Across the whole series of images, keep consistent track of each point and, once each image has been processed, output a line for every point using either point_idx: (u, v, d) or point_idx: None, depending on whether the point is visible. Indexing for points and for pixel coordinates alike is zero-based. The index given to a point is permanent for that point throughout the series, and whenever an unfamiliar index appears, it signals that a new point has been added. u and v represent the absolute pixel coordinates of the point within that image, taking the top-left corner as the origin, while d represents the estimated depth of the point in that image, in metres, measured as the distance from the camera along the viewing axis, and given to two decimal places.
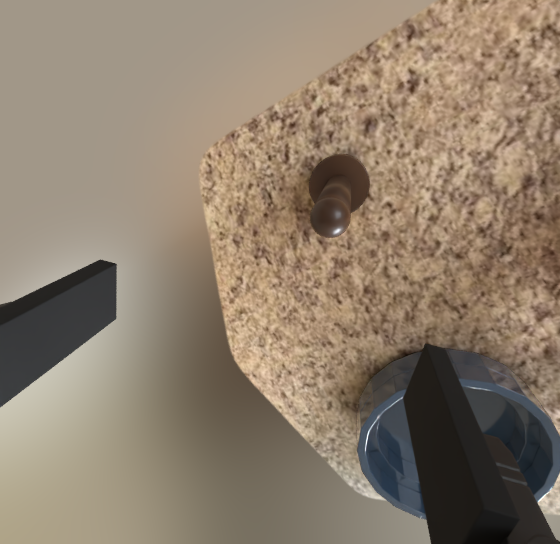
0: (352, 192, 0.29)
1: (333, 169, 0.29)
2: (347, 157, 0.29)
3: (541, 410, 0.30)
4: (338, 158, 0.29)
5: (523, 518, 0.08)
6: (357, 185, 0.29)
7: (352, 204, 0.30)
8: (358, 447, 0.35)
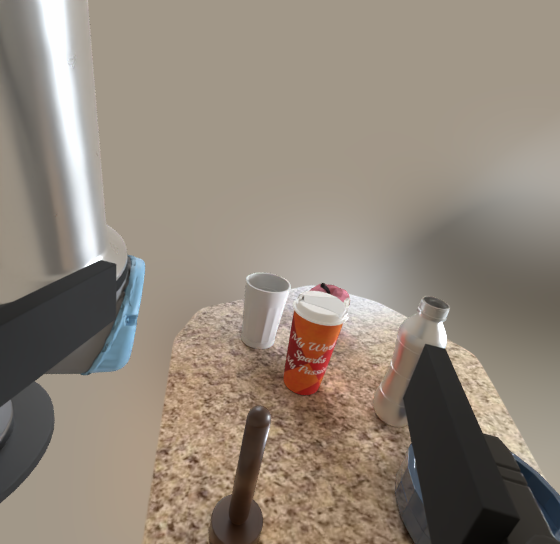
0: None
1: (222, 517, 0.34)
2: (218, 503, 0.35)
3: None
4: (216, 510, 0.34)
5: (523, 518, 0.08)
6: None
7: (256, 513, 0.35)
8: None
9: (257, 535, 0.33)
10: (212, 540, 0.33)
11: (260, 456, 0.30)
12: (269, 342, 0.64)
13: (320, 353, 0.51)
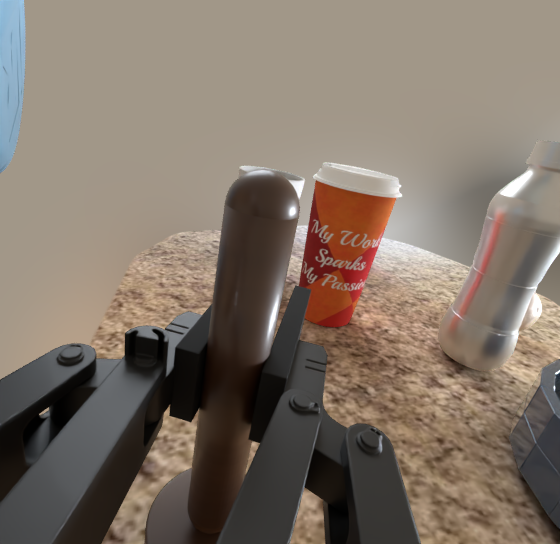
0: None
1: (175, 516, 0.14)
2: (169, 483, 0.15)
3: (553, 362, 0.26)
4: (161, 499, 0.15)
5: (305, 387, 0.11)
6: None
7: None
8: None
9: None
10: None
11: (266, 334, 0.10)
12: None
13: (359, 251, 0.32)
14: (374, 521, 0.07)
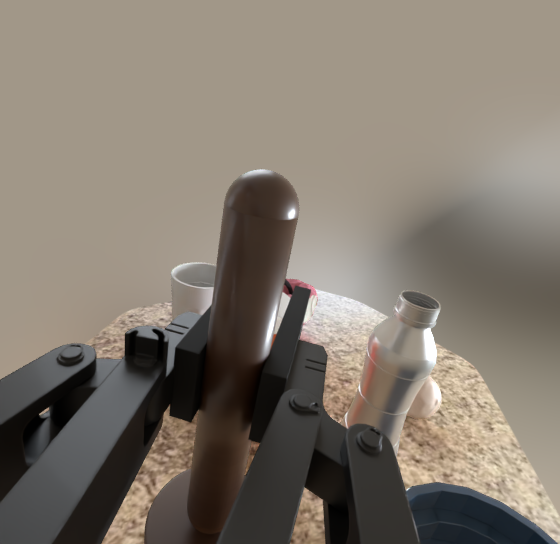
0: None
1: (174, 517, 0.14)
2: (169, 484, 0.15)
3: None
4: (160, 499, 0.15)
5: (305, 387, 0.11)
6: None
7: None
8: None
9: None
10: None
11: (265, 334, 0.10)
12: None
13: None
14: (374, 521, 0.07)
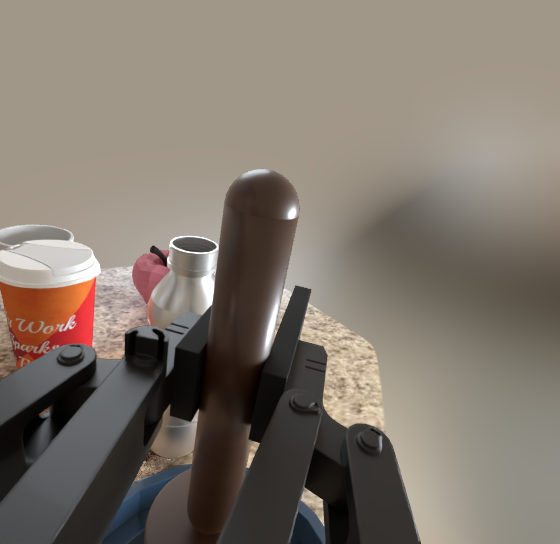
0: None
1: (174, 517, 0.14)
2: (169, 484, 0.15)
3: (162, 471, 0.25)
4: (161, 500, 0.15)
5: (305, 387, 0.11)
6: None
7: None
8: None
9: None
10: None
11: (266, 334, 0.10)
12: None
13: (41, 336, 0.31)
14: (374, 521, 0.07)
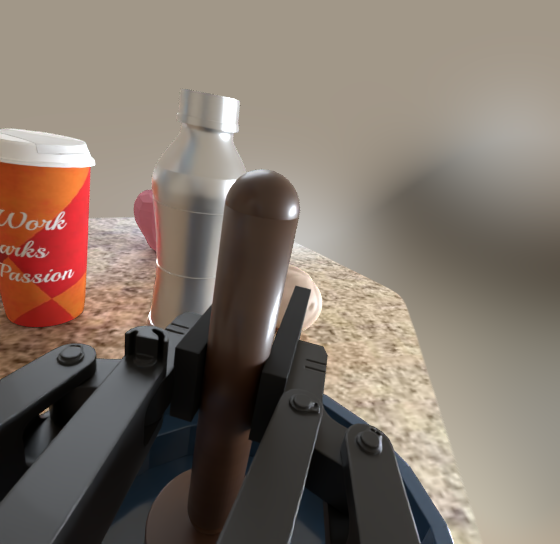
0: None
1: (175, 517, 0.14)
2: (169, 484, 0.15)
3: None
4: (161, 500, 0.15)
5: (305, 387, 0.11)
6: None
7: None
8: None
9: None
10: None
11: (266, 335, 0.10)
12: None
13: (24, 234, 0.26)
14: (374, 521, 0.07)
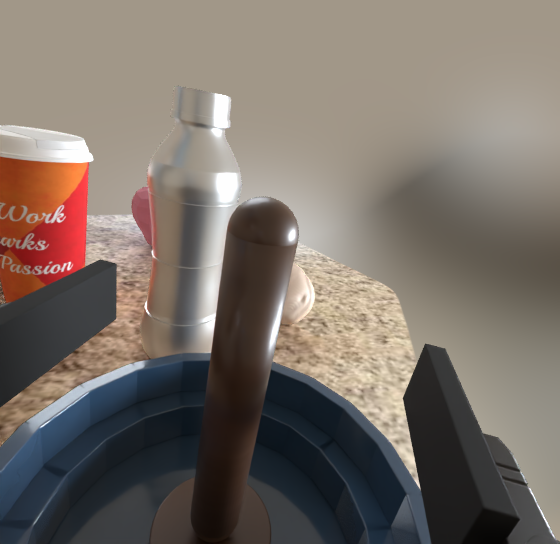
0: None
1: (178, 525, 0.15)
2: (173, 492, 0.16)
3: (165, 356, 0.21)
4: (165, 508, 0.15)
5: (523, 517, 0.08)
6: None
7: (255, 515, 0.16)
8: None
9: None
10: None
11: (266, 353, 0.11)
12: None
13: (25, 227, 0.27)
14: None
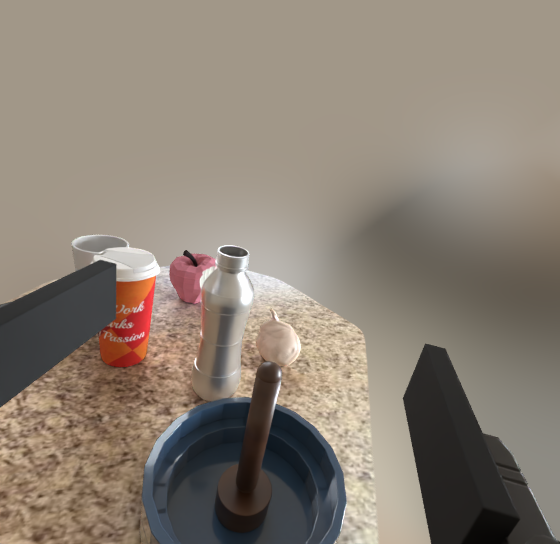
0: None
1: (229, 486, 0.32)
2: (225, 472, 0.33)
3: (214, 401, 0.38)
4: (222, 479, 0.33)
5: (523, 518, 0.08)
6: None
7: (264, 482, 0.33)
8: None
9: (266, 504, 0.31)
10: (218, 509, 0.31)
11: (270, 415, 0.28)
12: None
13: (122, 316, 0.44)
14: None
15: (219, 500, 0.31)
